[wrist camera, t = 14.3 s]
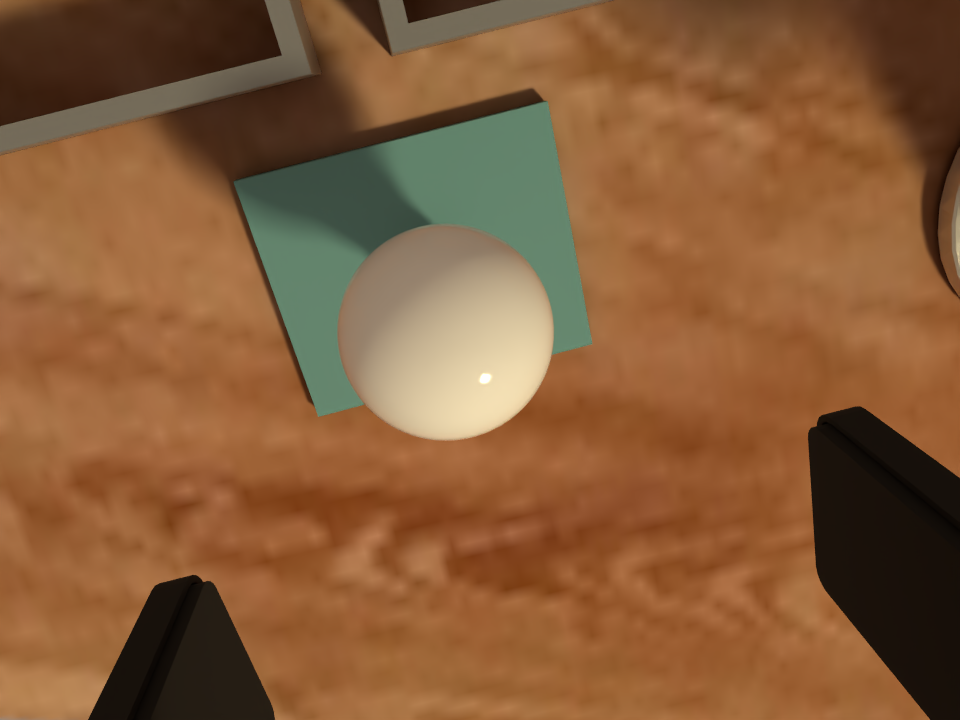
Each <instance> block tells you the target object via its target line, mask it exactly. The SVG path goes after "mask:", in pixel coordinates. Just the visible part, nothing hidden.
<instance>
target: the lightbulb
mask: <svg viewBox="0 0 960 720" xmlns="http://www.w3.org/2000/svg"><path fill="white" fill-rule="evenodd" d="M337 342H338V349H339V355H340V359H341V363H342V366H343V369H344V371H345V374H346V376H347V378H348V380H349V382H350V384H351V386H352V388H353V389H354V391H355V392H356V394H357V395H358V397H359V398H360V399H361V400H362V402H363V403H364V404H365V405H366V406H367V407H368V408H369V409H370V410H371V411H372V412H373V413H374V414H375V415H376V416H377V417H379V418H380V419H381V420H383V421H384V422H386V423H387V424H389V425H390V426H392V427H394V428H396V429H398V430H400V431H402V432H404V433H407V434H410V435H413V436H416V437H420V438H424V439H430V440H441V441H450V440H461V439H467V438H472V437H475V436H479V435H482V434H484V433H487V432H489V431H491V430H494V429H496V428H497V427H499V426H501V425H503V424H504V423H506V422H507V421H509V420H510V419H511V418H513V417H514V416H515V415H516V414H518V413H519V412H520V411H521V410H522V409H523V408H524V407H525V406H526V405H527V403H528V402H529V401H530V400H531V399H532V397H533V396H534V395H535V393H536V392H537V390H538V388H539V387H540V385H541V383H542V381H543V379H544V377H545V375H546V372H547V370H548V367H549V364H550V360H551V356H552V351H553V343H554V322H553V314H552V309H551V305H550V301H549V298H548V295H547V292H546V290H545V288H544V286H543V284H542V282H541V280H540V278H539V276H538V275H537V273H536V271H535V270H534V269H533V267H532V266H531V265H530V263H529V262H528V261H527V260H526V259H525V258H524V257H523V256H522V255H521V254H520V253H519V252H518V251H517V250H516V249H515V248H514V247H512V246H511V245H510V244H508V243H507V242H505V241H504V240H502V239H500V238H499V237H497V236H495V235H493V234H491V233H489V232H486V231H484V230H481V229H478V228H475V227H471V226H466V225H460V224H448V223H441V224H430V225H424V226H420V227H416V228H413V229H410V230H407V231H404V232H402V233H400V234H398V235H396V236H394V237H392V238H390V239H389V240H387V241H385V242H384V243H383V244H381V245H380V246H378V247H377V248H376V249H375V250H374V251H373V252H371V253H370V254H369V255H368V256H367V257H366V258H365V260H364V261H363V262H362V263H361V264H360V266H359V267H358V268H357V270H356V271H355V273H354V274H353V276H352V278H351V279H350V281H349V283H348V285H347V287H346V290H345V292H344V295H343V297H342V301H341V304H340V308H339V313H338V321H337Z"/></svg>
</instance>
